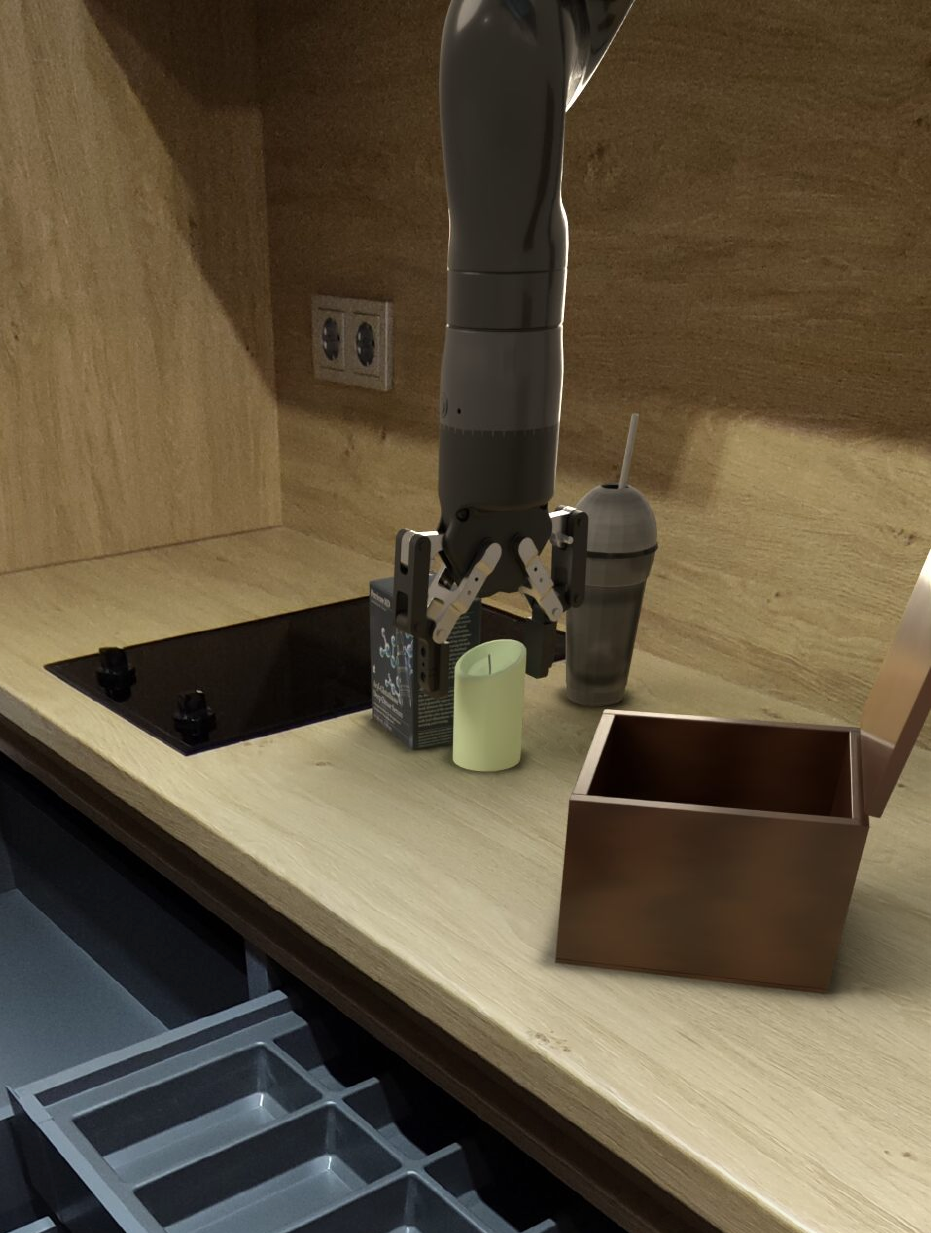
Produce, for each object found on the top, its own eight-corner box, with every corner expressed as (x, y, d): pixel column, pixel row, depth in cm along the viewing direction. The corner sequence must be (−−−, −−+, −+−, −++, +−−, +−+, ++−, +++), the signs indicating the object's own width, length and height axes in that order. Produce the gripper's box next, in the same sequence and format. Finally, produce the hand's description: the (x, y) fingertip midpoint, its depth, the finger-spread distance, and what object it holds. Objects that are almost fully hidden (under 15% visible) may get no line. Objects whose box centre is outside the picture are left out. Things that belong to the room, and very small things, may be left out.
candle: (481, 783, 89) (486, 663, 84) (438, 763, 92) (440, 646, 87) (533, 767, 91) (541, 649, 86) (490, 747, 95) (495, 632, 89)
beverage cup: (588, 682, 105) (614, 400, 92) (657, 702, 101) (695, 410, 88) (531, 703, 102) (549, 413, 88) (600, 725, 98) (630, 424, 84)
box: (370, 725, 99) (367, 579, 92) (434, 713, 100) (436, 569, 93) (411, 758, 93) (411, 606, 86) (478, 746, 95) (484, 595, 88)
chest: (553, 971, 69) (569, 799, 63) (587, 866, 79) (604, 708, 73) (824, 1002, 66) (869, 826, 60) (825, 890, 76) (864, 727, 70)
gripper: (434, 435, 72) (429, 720, 83) (627, 411, 77) (598, 683, 88) (370, 416, 77) (373, 688, 88) (556, 396, 82) (537, 655, 93)
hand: (486, 685), depth 88 cm, fingers open, 8 cm apart
